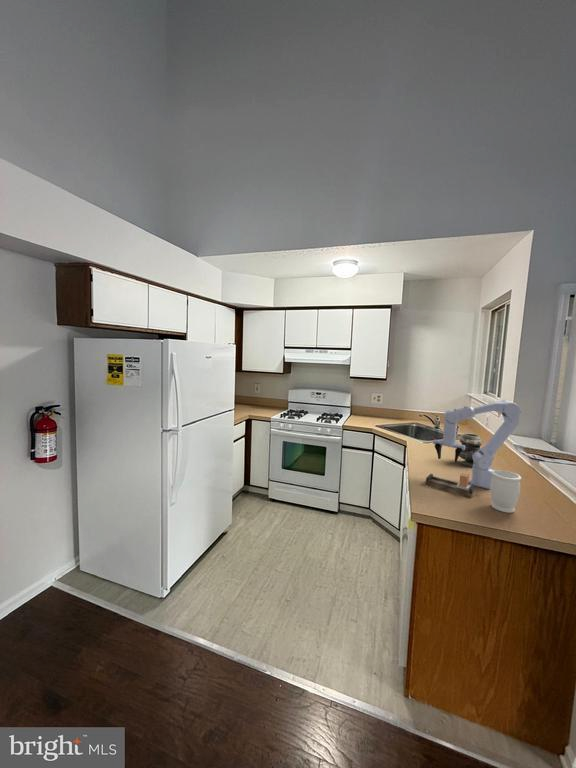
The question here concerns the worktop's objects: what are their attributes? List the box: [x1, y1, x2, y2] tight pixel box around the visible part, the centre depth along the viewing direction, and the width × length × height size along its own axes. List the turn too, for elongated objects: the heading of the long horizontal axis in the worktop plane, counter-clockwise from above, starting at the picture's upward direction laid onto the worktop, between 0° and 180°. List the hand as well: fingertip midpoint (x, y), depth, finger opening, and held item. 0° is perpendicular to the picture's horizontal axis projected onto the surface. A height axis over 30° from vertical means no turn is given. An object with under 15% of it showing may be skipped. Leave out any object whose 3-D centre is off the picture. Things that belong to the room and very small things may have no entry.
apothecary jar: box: [458, 432, 484, 468], centre depth 186 cm, size 12×12×18 cm
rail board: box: [424, 473, 476, 499], centre depth 152 cm, size 20×9×4 cm, turn 50°
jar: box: [489, 469, 522, 514], centre depth 133 cm, size 11×10×15 cm
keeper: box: [457, 472, 472, 491], centre depth 148 cm, size 5×5×6 cm
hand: (447, 460), depth 162 cm, fingers open, 7 cm apart
